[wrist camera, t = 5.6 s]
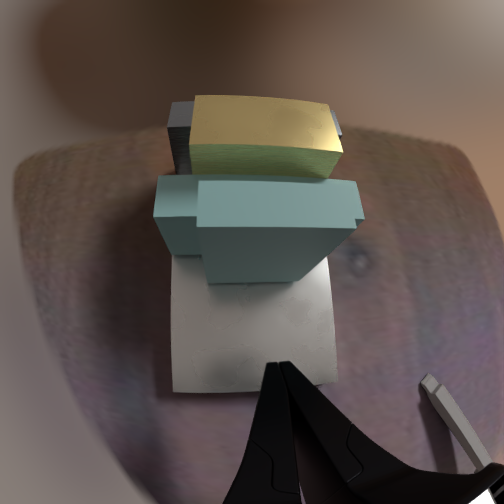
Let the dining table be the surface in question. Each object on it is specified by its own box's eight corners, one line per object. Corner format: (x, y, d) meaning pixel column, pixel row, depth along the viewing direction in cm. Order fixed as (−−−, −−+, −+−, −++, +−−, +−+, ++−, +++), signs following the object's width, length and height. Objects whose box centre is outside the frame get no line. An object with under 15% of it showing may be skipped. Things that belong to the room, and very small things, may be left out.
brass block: (299, 224, 17) (343, 152, 10) (199, 223, 16) (188, 144, 9) (293, 182, 18) (327, 104, 11) (201, 181, 17) (195, 95, 10)
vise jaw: (331, 279, 15) (403, 230, 9) (170, 283, 14) (130, 228, 8) (323, 222, 17) (379, 149, 10) (173, 222, 16) (147, 137, 9)
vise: (327, 379, 15) (384, 391, 9) (177, 388, 14) (150, 412, 8) (304, 167, 20) (331, 105, 14) (183, 164, 19) (173, 96, 13)
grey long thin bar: (480, 485, 12) (518, 495, 6) (474, 493, 12) (512, 503, 6) (425, 372, 16) (487, 371, 10) (417, 383, 16) (479, 385, 10)
